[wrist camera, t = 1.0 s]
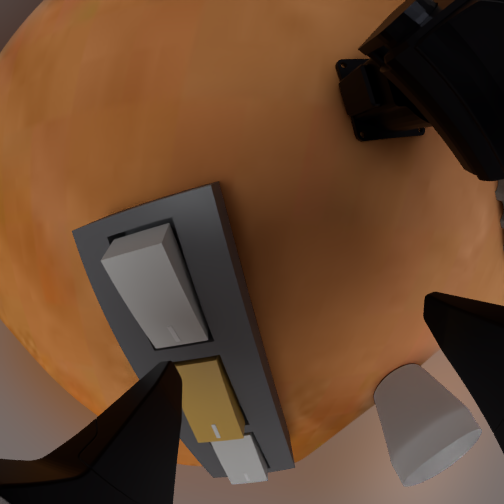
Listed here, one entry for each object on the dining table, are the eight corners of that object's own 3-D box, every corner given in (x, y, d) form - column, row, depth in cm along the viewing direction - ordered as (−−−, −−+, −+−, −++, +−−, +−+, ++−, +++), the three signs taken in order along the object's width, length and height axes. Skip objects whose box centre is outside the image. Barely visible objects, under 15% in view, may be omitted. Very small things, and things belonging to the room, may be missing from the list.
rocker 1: (169, 222, 14) (161, 243, 12) (208, 315, 18) (208, 341, 16) (113, 239, 14) (100, 261, 12) (160, 324, 18) (155, 349, 16)
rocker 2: (220, 347, 19) (216, 360, 16) (245, 421, 19) (243, 438, 17) (174, 355, 19) (165, 368, 17) (202, 426, 19) (198, 443, 17)
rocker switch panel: (218, 181, 18) (210, 184, 14) (289, 434, 26) (295, 467, 22) (104, 217, 19) (69, 231, 14) (213, 445, 27) (211, 477, 22)
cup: (370, 366, 24) (420, 457, 12) (438, 345, 24) (497, 412, 12) (358, 418, 26) (389, 496, 15) (419, 398, 26) (459, 462, 15)
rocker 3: (250, 420, 21) (250, 435, 19) (267, 466, 21) (267, 480, 19) (213, 425, 21) (209, 440, 19) (233, 470, 22) (231, 484, 19)
